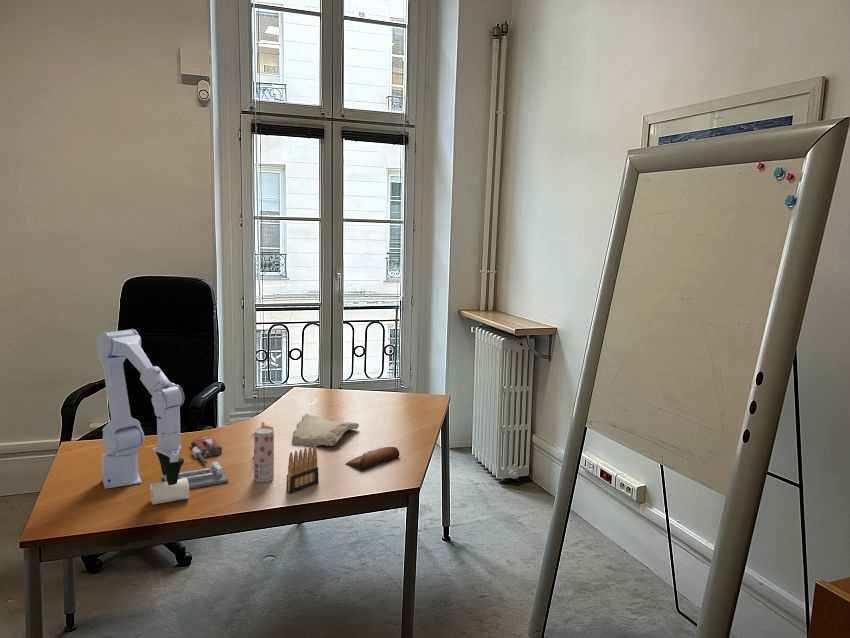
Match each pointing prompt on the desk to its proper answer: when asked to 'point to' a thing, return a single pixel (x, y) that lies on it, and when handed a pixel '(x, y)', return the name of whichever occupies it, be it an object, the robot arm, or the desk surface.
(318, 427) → the flat sandstone slab
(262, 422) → the figurine
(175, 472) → the robot arm
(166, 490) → the paper roll
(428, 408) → the desk surface
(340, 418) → the desk surface
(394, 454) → the sunglasses case
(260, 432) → the beverage can
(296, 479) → the ammunition clip
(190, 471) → the roll cradle
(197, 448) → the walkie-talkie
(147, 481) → the desk surface
